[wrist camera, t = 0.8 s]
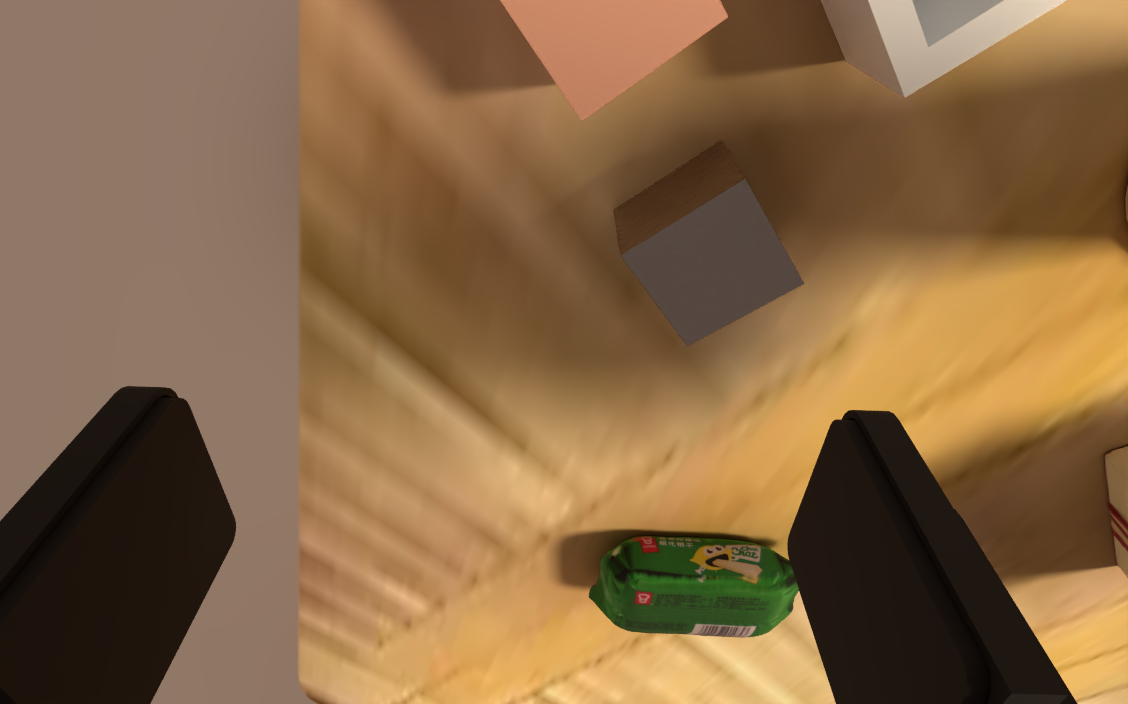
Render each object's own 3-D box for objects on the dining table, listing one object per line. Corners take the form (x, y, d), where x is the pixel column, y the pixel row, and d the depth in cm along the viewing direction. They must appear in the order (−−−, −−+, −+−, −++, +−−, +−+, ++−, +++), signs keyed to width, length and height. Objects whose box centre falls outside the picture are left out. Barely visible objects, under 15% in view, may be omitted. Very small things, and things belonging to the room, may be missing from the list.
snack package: (782, 587, 51) (802, 650, 47) (586, 580, 50) (589, 643, 46) (808, 529, 47) (833, 592, 43) (596, 520, 46) (600, 583, 42)
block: (774, 234, 33) (804, 283, 29) (672, 293, 35) (687, 346, 31) (720, 139, 30) (745, 178, 26) (613, 209, 32) (620, 255, 28)
